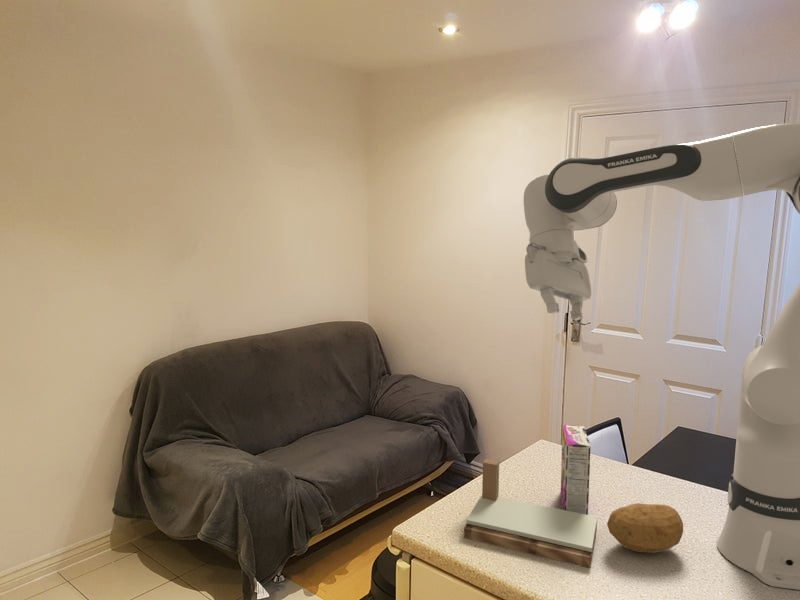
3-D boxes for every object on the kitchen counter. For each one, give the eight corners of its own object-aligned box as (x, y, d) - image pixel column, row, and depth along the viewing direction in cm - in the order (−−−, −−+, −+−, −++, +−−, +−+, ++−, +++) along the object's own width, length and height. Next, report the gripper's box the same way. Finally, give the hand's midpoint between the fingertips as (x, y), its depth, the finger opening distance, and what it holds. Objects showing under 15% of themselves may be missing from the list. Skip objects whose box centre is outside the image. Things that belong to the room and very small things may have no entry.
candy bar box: (558, 492, 125) (561, 423, 123) (581, 494, 124) (585, 425, 122) (563, 518, 114) (566, 443, 112) (588, 521, 113) (592, 445, 111)
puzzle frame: (596, 530, 110) (597, 521, 109) (590, 568, 98) (590, 557, 98) (482, 506, 119) (482, 497, 119) (464, 537, 107) (464, 528, 107)
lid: (597, 520, 109) (599, 479, 108) (591, 552, 99) (594, 506, 98) (482, 496, 119) (483, 458, 118) (466, 523, 108) (467, 481, 107)
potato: (595, 535, 108) (597, 497, 107) (663, 531, 109) (666, 494, 108) (619, 566, 98) (622, 524, 97) (694, 561, 100) (697, 520, 99)
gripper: (540, 234, 103) (553, 304, 99) (590, 256, 118) (603, 318, 113) (512, 245, 107) (523, 313, 103) (563, 265, 122) (575, 325, 118)
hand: (565, 316), depth 109 cm, fingers open, 8 cm apart
